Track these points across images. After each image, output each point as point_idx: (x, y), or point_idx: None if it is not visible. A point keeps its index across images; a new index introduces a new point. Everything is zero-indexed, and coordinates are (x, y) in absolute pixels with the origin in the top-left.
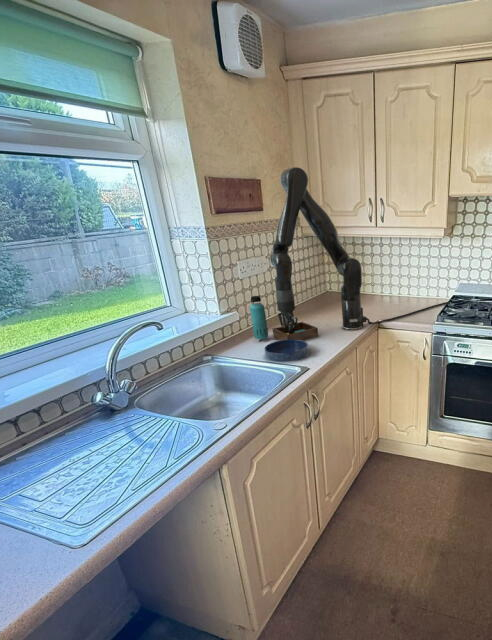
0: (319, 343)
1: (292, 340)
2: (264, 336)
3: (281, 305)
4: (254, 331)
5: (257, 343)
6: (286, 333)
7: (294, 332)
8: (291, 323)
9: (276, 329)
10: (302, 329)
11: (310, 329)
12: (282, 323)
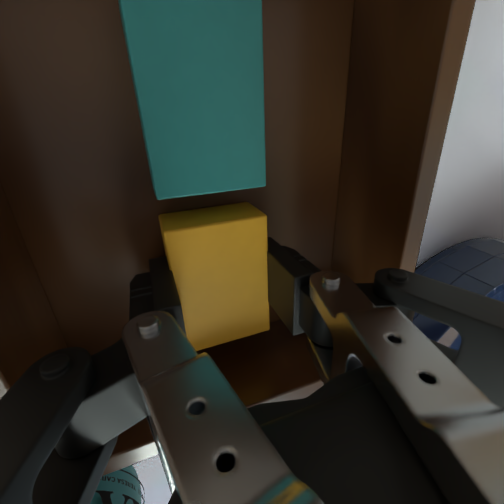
0: (478, 81)
1: (448, 328)
2: (139, 492)
3: None
4: None
5: (141, 481)
6: (192, 315)
7: (163, 196)
8: (497, 403)
9: (123, 453)
10: (135, 20)
11: (465, 42)
12: (98, 458)
